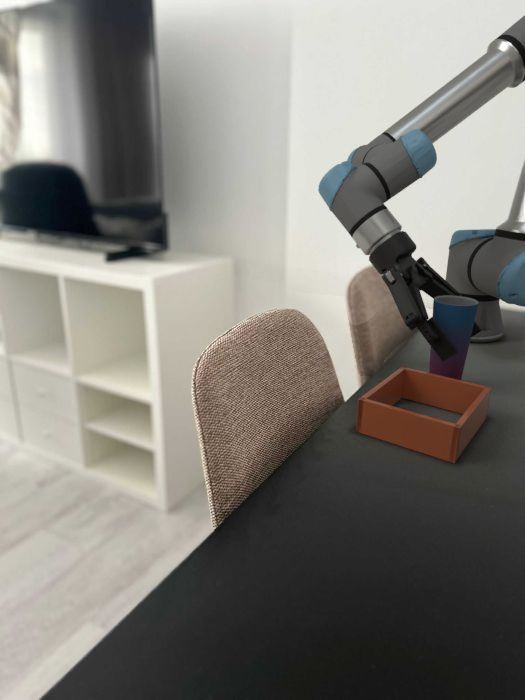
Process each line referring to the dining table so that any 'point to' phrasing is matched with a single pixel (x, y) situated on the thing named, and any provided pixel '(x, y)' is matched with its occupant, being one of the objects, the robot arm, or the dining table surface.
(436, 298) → the cup
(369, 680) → the dining table surface
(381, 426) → the rectangular frame
